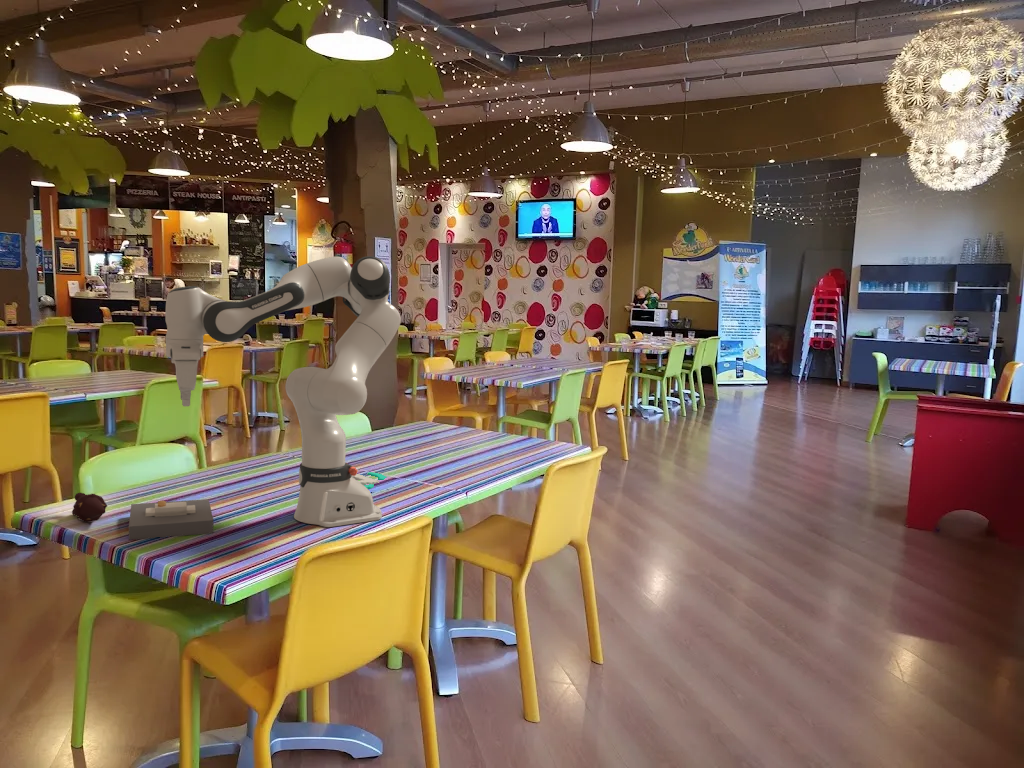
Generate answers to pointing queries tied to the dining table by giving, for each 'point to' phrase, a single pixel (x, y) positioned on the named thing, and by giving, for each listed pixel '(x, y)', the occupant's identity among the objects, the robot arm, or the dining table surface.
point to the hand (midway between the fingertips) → (185, 402)
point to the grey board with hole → (170, 521)
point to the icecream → (88, 507)
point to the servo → (170, 509)
